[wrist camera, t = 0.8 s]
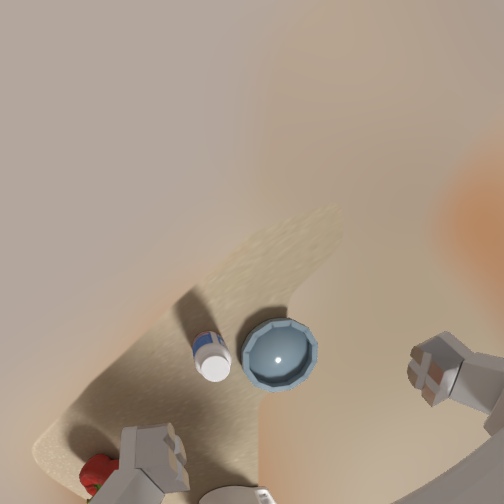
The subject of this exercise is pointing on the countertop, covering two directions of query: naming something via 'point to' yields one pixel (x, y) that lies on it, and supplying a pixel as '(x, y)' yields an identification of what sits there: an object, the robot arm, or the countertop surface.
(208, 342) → the pill bottle
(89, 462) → the vegetable
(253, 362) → the dish
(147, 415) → the countertop surface
